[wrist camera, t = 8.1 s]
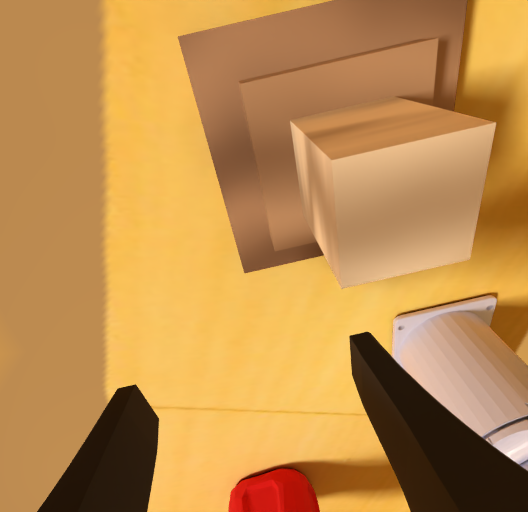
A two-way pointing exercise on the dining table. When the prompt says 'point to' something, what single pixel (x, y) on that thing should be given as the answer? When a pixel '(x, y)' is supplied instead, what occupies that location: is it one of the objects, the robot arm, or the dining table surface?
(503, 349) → the robot arm
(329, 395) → the dining table surface
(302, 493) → the water bottle
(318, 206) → the oak block
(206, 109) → the walnut pedestal
